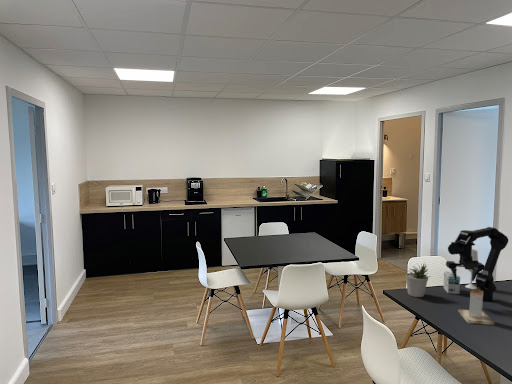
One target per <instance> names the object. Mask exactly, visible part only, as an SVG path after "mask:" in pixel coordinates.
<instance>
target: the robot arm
mask: <svg viewBox="0 0 512 384" xmlns="http://www.w3.org/2000/svg"><path fill="white" fill-rule="evenodd" d="M484 237H488V238H489V239H490V240H489V244H490V250H489V253H488V256H487V258H486V261H485V264H483V263H482V262H480V261H479V260H478V261H473V260H472V256H471V255H472V249H473V246H475V245H476V244H475V243H474V242H475V241H477V239H480V238H484ZM508 243H509V238H508V236H507V235H505V234H504V233H503V232H502V231H499V230H498V229H497V228H496V227H492V226H488V227H485V228H480V229H475V230H467V229H466V230H463V229H462V230H460V231H459V233H458V235H457V237H456V238H455V240H454V241H451V242H450V244H448V247H447V251H448V253H449V254H450V255H453V256H455V255H458V256H459V260H458V263H457V262H455V261H452V260H451V261H450V260H447V261H446V262H445V266H446V267H447V268H448V269H450V272H452V273H453V276H454V279H455V280H456V274H457V270H458V269H457V268H458V267H459V268H464V270H466V271H467V270H468V269H471V270H472V282H475V284H476V287H477V288H479V289H478V290H481V291H483V302H494V299H493V296H494V292H495V291H496V290H497V286H496V285H495V284H494V276H493V274H494V271H495V268H496V265H497V262H498V261H499V260H498V259H499V257H500V256H501V255H500V254H501V251H503V250H504V249H505V248H506V247H507V245H508ZM468 271H469V270H468Z"/></svg>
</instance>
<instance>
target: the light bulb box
mask: <svg viewBox="0 0 512 384" xmlns="http://www.w3.org/2000/svg"><path fill="white" fill-rule="evenodd" d="M460 284H461V277H460V275H458V274H457V273H456V280H455V279H454V276H453V273H452V271H445V270H444V271H443V287H442V288H443V289H444V290H445V292H447V294H453V295H460V288H461V287H460V286H461V285H460Z"/></svg>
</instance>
